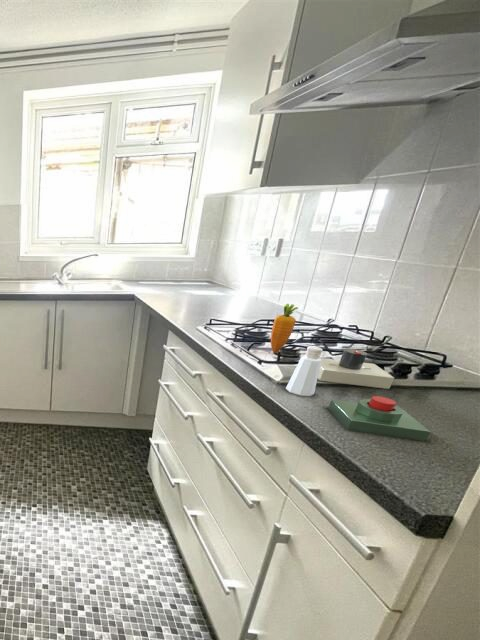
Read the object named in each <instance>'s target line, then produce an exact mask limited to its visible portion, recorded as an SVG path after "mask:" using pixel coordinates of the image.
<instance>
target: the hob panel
mask: <svg viewBox="0 0 480 640" xmlns="http://www.w3.org/2000/svg"><path fill="white" fill-rule="evenodd" d="M319 359H321V360H322V361H321V366H320V370H319V375H318V379H317V380H318V381H321V382H328V383H336V384H345V385H353V386H360V387H370V388H377V389H385V390H390V388H391V386H392V384H393V382H394V380H395V377H394V376H392V375H391V374H390V373H388V372H387V371H386V370H384V369H382V368H381V367H379V366H378V365H377V364H375V363H370V362H364V363H363V365H362V368H361V369H359V370H355V369H348V368H344V367H342V366H340V365H339V362H340V359H333V358H325V357H324V358H323V357H319Z"/></svg>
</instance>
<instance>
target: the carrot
mask: <svg viewBox="0 0 480 640" xmlns="http://www.w3.org/2000/svg"><path fill="white" fill-rule="evenodd" d="M298 309H299V307H298V306H295V304H293V303H292V304H290V303H286V304H285V305H284V306H283V314H280V315H277V316H275V318H274V321H273V324H272V328H271V332H270V333H271V334H270V348H271V351H272V353H273V354H277V353H279V352H280V351H281V350H282V349H283V347H284V346H285V345H286V344H287V342H288V341H289V339H290V337H291V335H292V333H293V330H294V327H295V325H296V321H297V320H296V318H295V317H294V316H292V314H293V313H294V311H295V310H298Z"/></svg>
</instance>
